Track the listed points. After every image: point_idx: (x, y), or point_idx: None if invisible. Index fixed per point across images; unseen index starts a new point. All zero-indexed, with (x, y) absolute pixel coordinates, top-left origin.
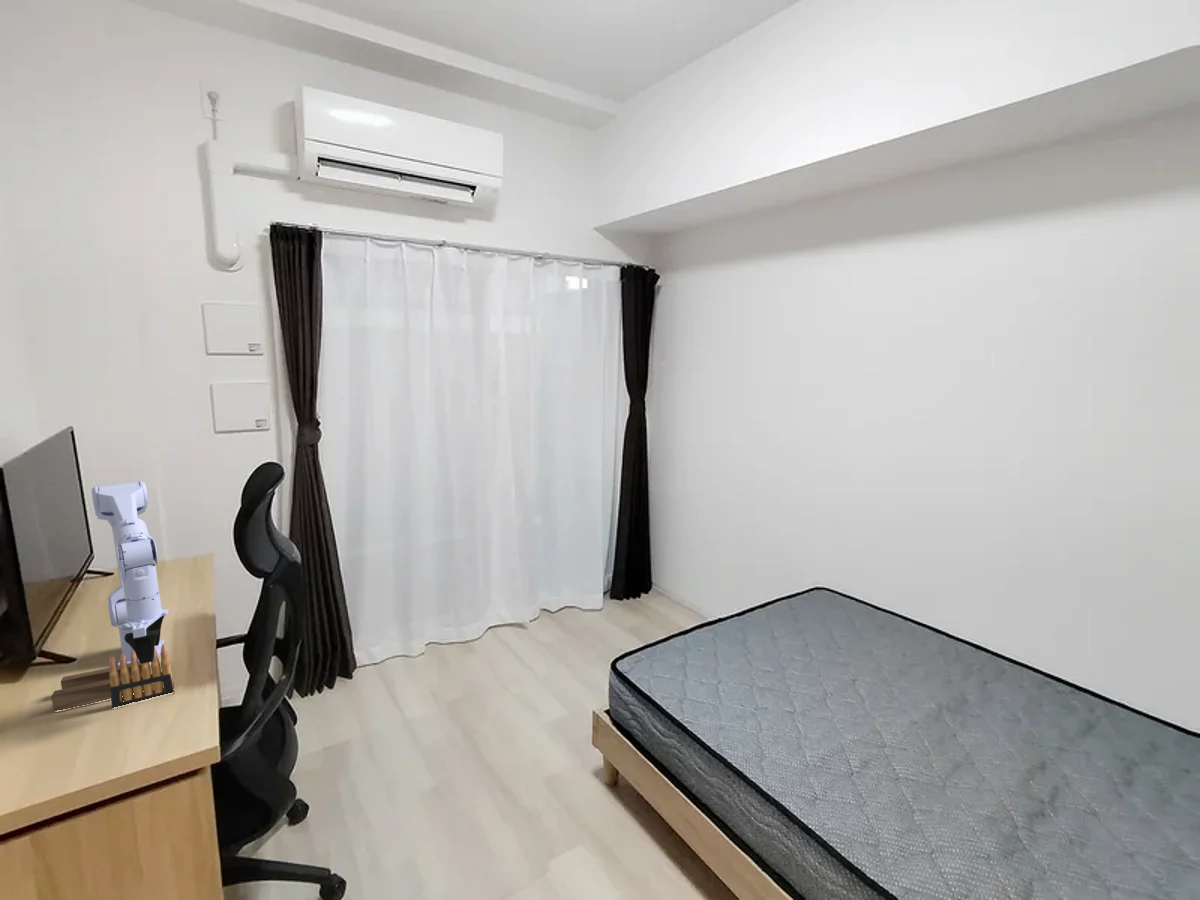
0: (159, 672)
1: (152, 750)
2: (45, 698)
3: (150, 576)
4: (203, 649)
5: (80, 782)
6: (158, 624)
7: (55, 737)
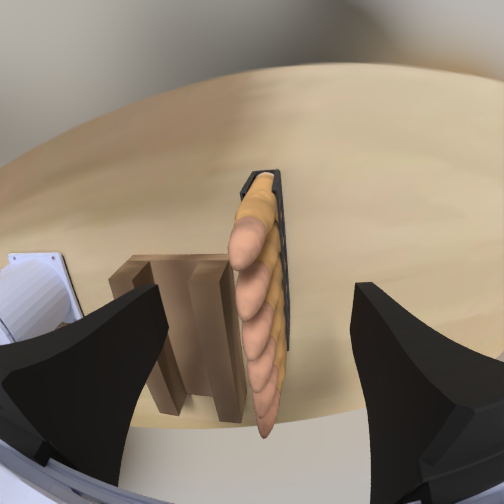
0: (272, 230)
1: None
2: None
3: None
4: (40, 154)
5: None
6: (80, 361)
7: (351, 373)
